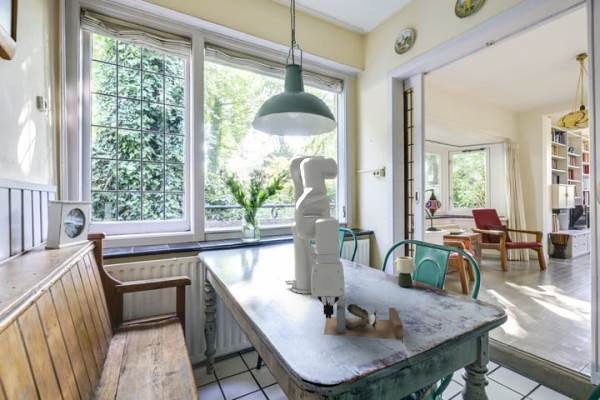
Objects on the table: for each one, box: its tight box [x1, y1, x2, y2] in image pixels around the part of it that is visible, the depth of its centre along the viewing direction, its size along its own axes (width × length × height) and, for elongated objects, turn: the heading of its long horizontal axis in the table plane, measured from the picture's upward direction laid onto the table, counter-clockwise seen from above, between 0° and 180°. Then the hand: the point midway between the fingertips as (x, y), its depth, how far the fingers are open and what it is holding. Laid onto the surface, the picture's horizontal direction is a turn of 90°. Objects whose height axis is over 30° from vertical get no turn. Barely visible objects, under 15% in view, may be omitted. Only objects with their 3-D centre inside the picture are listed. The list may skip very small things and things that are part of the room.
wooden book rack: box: [323, 307, 404, 344], centre depth 84 cm, size 22×12×6 cm, turn 80°
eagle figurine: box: [346, 303, 379, 330], centre depth 84 cm, size 8×7×9 cm
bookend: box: [336, 298, 347, 334], centre depth 85 cm, size 2×10×7 cm, turn 170°
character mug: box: [394, 256, 417, 287], centre depth 127 cm, size 11×7×13 cm, turn 35°
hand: (328, 316), depth 86 cm, fingers closed
